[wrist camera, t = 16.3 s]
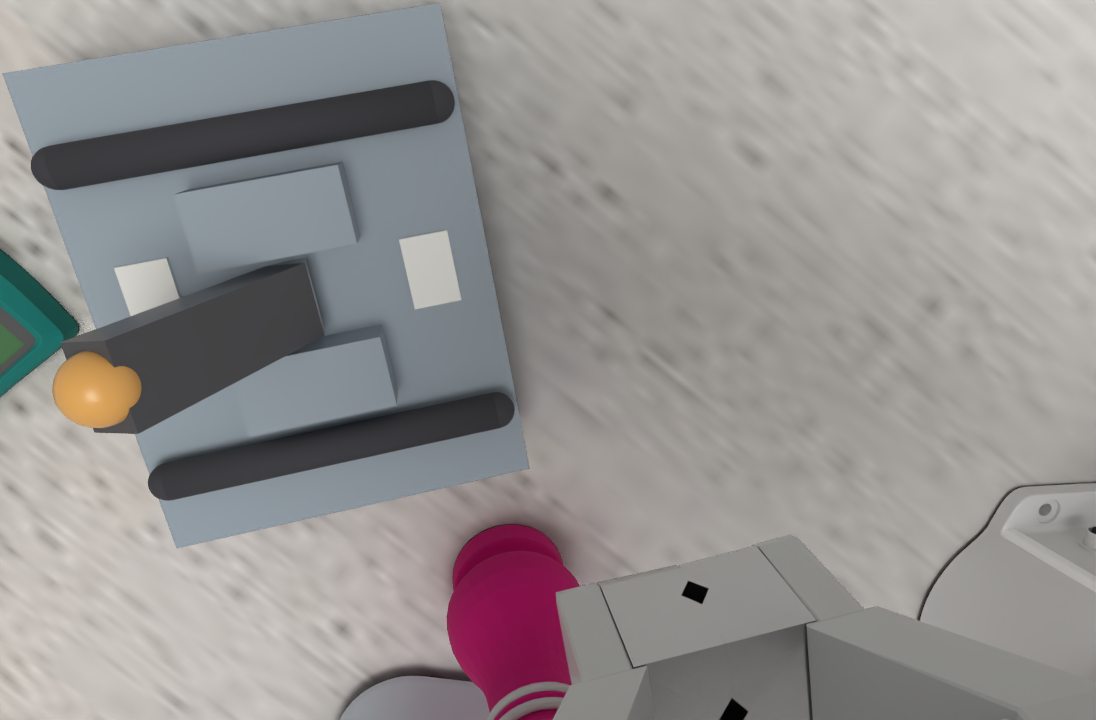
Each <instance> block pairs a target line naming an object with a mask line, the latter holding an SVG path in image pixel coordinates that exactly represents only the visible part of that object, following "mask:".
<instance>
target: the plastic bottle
mask: <svg viewBox="0 0 1096 720" xmlns="http://www.w3.org/2000/svg"><path fill="white" fill-rule="evenodd" d="M489 713H490V712H489V708H488V704H487V700H486V697H485V695H484V693H483V691H482V690H481V689H480V688H479V687H478V686H476V685H475V684H474V683H473V682H469V681H461V680H452V679H443V678H435V677H426V676H402V677H396V678H392V679H389V680H386V681H383V682H381V683H378V684H376V685H374V686H372V687H370V688H369V689H367V690H366V691H364V692H363V693H361V694H360V695H359V696H358V697H357V698H356V699H355V700H354V701H353V702H352V703H351V704H350V705H349V706H348V707H347V709H346V710H345V711H344V713H343V714H342V716H341V718H340V720H486V719H487V717H488V715H489Z"/></svg>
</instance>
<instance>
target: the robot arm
mask: <svg viewBox="0 0 1096 720" xmlns="http://www.w3.org/2000/svg"><path fill="white" fill-rule="evenodd" d="M1040 507H1041V508H1040ZM556 603H557V609H558V614H559V620H560V625H561V630H562V636H563V641H564V646H565V652H566V657H567V662H568V668H569V673H570V678H571V682H572V685H571V686H569V688H568V690H567V692H566V694H565V696H564V698H563V700H562V702H561V704H560V706H559V708H558V710H557V712H556V714H555V716H554V718H553V720H1096V483H1085V484H1067V485H1049V486H1031V487H1021V488H1018V489H1016V490H1014V491H1013V492H1011V493H1010V494H1009V495H1008V496H1007V497H1006V498H1005V500H1004V501H1003V502H1002V504H1001V505H1000V507H999V508H998V510H997V511H996V513H995V515H994V516H993V518H992V520H991V521H990V523H989V525H988V527H987V528H986V529H985V531H984V532H983V533H982V534H981V535H980V536H979V537H978V538H977V539H976V540H975V541H973V542H972V543H971V544H970V545H969V546H968V547H967V548H965V549H964V550H963V551H962V552H961V553H960V554H959V555H958V556H957V557H956V558H955V559H954V560H953V561H952V562H951V563H950V564H949V566H948V567H947V568H946V569H945V570H944V572H943V573H942V574H941V576H940V577H939V579H938V580H937V582H936V583H935V585H934V587H933V588H932V590H931V592H930V594H929V596H928V598H927V600H926V603H925V605H924V608H923V611H922V614H921V618H920V621H918V620H915V619H912V618H909V617H906V616H903V615H901V614H898V613H895V612H892V611H889V610H886V609H883V608H880V607H873V608H869V609H864V608H863V607H862V605H861V604H860V603H859V602H858V601H857V600H856V599H855V598H854V597H853V596H852V595H851V594H850V593H849V592H848V591H847V590H846V588H845V587H844V586H843V585H842V584H841V583H840V582H839V581H838V580H837V579H836V578H835V577H834V576H833V575H832V574H831V572H830V571H829V570H828V569H827V568H826V567H825V566H824V565H823V564H822V563H821V562H820V561H819V560H818V559H817V558H816V556H815V555H814V554H813V553H812V552H811V551H810V550H809V549H808V548H807V547H806V546H805V545H804V544H803V543H802V542H801V540H800V539H799V538H798V537H795V536H793V535H787V536H783V537H780V538H776V539H772V540H769V541H765V542H762V543H758V544H755V545H752V546H751V547H747V548H743V549H739V550H736V551H732V552H728V553H724V554H720V555H716V556H712V557H709V558H705V559H701V560H697V561H693V562H689V563H685V564H682V565H678V566H677V565H673V566H669V567H664V568H660V569H655V570H651V571H646V572H642V573H637V574H633V575H628V576H624V577H619V578H614V579H610V580H605V581H601V582H597V584H596V583H592V584H588V585H584V586H579V587H575V588H571V589H567V590H563V591H559V592H556Z"/></svg>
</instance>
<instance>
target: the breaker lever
mask: <svg viewBox="0 0 1096 720" xmlns="http://www.w3.org/2000/svg"><path fill="white" fill-rule="evenodd" d="M324 333H325V330H324V326H323V322H322V318H321V315H320V311H319V307H318V304H317V300H316V296H315V292H314V289H313V285H312V281H311V278H310V274H309V270H308V266H307V263H306V260H305V259H297V260H290V261H285V262H281V263H277V264H274V265H271V266H265V267H262V268H260V269H257V270H254V271H252V272H249V273H246V274H243V275H241V276H238V277H235V278H233V279H230V280H227V281H225V282H222V283H219V284H217V285H214V286H211V287H208V288H206V289H203V290H200V291H198V292H195V293H192V294H190V295H187V296H184V297H181V298H179V299H176V300H173V301H171V302H168V303H165V304H163V305H160V306H157V307H155V308H152V309H149V310H146V311H144V312H141V313H138V314H136V315H133V316H130V317H128V318H125V319H122V320H120V321H117V322H114V323H111V324H109V325H106V326H103V327H101V328H98V329H95V330H93V331H90V332H87V333H85V334H82V335H79V336H76V337H74V338H71V339H68V340H66V341H63V342H60V344H61V346H62V349H63V351H64V354H65V357H66V359H67V360H66V361H65V362H64V363H63V364H62V365H61V367H60V368H59V370H58V371H57V373H56V375H55V378H54V381H53V397H54V400H55V403H56V405H57V407H58V409H59V410H60V411H61V413H62V414H63V415H64V416H66V417H67V418H68V419H69V420H71V421H73V422H74V423H76V424H79V425H82V426H85V427H90V428H93V429H94V432H98V433H128V434H139V433H141V432H143V431H145V430H147V429H149V428H151V427H152V426H154V425H156V424H158V423H160V422H162V421H164V420H166V419H168V418H169V417H171V416H173V415H175V414H177V413H179V412H181V411H183V410H185V409H186V408H188V407H190V406H192V405H194V404H196V403H198V402H200V401H202V400H204V399H205V398H207V397H209V396H211V395H213V394H215V393H217V392H219V391H221V390H222V389H224V388H226V387H228V386H230V385H232V384H234V383H236V382H238V381H239V380H241V379H243V378H245V377H247V376H249V375H251V374H253V373H255V372H257V371H258V370H260V369H262V368H264V367H266V366H268V365H270V364H272V363H274V362H275V361H277V360H279V359H281V358H283V357H285V356H287V355H289V354H291V353H292V352H294V351H296V350H298V349H300V348H302V347H304V346H306V345H308V344H310V343H311V342H313V341H315V340H317V339H319V338H321V337H323V336H325V335H324Z"/></svg>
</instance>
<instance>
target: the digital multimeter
mask: <svg viewBox="0 0 1096 720" xmlns="http://www.w3.org/2000/svg"><path fill="white" fill-rule="evenodd" d="M78 332H79V328H78V325H77V323H76V322H75V320H74V319H73V318H72V317H71V316H70V315H69V314H68V313H67V312H66V311H65V310H64V309H63V308H62V307H61V306H60V304H59V303H58V302H57V301H56V300H55V299H54V298H53V297H52V296H51V295H50V294H49V293H48V292H47V291H46V290H45V289H44V288H43V287H42V286H41V285H40V284H39V283H38V282H37V281H36V280H35V279H34V278H33V277H32V276H30V275H29V274H28V273H27V272H26V271H25V270H24V269H23V268H22V267H20V266H19V265H18V264H17V263H16V262H15V261H14V260H13V259H11V258H10V257H9V256H8V255H7V254H5V253H4V252H3V251H2V250H0V397H1V396H2V395H3V394H4V393H6V392H7V391H8V390H9V389H10V388H11V387H13V386H14V385H15V384H16V383H18V382H19V381H20V380H21V379H23V378H24V377H25V376H26V375H28V374H29V373H30V372H31V371H33V370H34V369H35V368H36V367H38V366H39V365H40V364H42V363H43V362H44V361H45V360H47V359H48V358H49V357H50V356H52V355H53V354H54V353H55V352H57V351H58V350H59V349H60V348H62V346H61V344H60V342H63V341H66V340H68V339H71V338H74V337H75V336H76V335H77V333H78Z"/></svg>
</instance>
